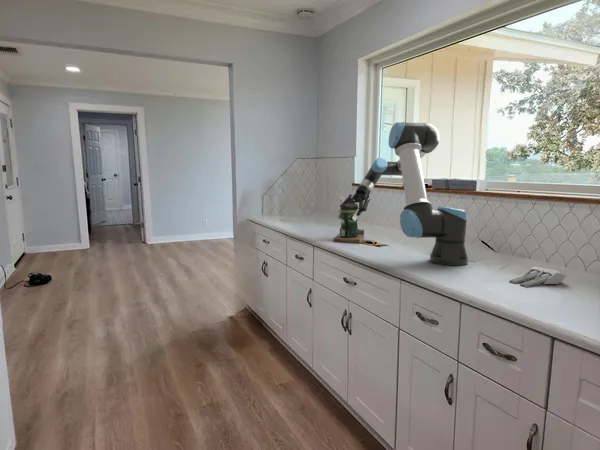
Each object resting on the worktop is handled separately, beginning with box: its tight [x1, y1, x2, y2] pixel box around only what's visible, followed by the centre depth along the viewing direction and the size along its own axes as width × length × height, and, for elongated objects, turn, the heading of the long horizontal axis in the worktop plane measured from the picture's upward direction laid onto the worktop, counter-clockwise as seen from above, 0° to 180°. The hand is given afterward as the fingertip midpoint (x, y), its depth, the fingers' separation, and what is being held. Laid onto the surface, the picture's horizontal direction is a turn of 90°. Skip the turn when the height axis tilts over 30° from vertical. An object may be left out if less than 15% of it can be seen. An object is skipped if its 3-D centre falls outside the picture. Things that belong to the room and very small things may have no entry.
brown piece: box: [332, 227, 365, 245], centre depth 211 cm, size 20×14×5 cm
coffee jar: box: [339, 203, 359, 238], centre depth 209 cm, size 10×8×19 cm
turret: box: [508, 265, 567, 288], centre depth 132 cm, size 10×20×5 cm, turn 111°
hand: (345, 218), depth 206 cm, fingers open, 10 cm apart
